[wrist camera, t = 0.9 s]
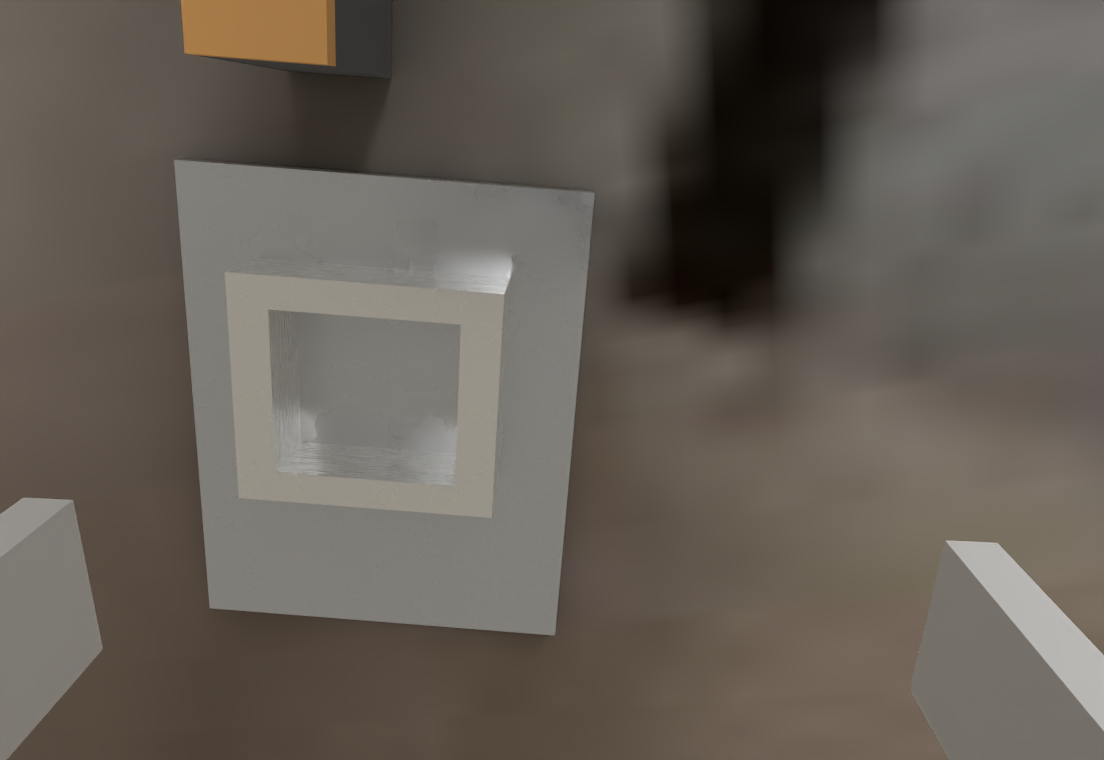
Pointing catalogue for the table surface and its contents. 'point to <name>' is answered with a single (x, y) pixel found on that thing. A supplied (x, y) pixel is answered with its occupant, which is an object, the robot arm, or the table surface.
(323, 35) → the plug
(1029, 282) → the table surface
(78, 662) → the robot arm
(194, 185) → the socket plate
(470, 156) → the table surface
